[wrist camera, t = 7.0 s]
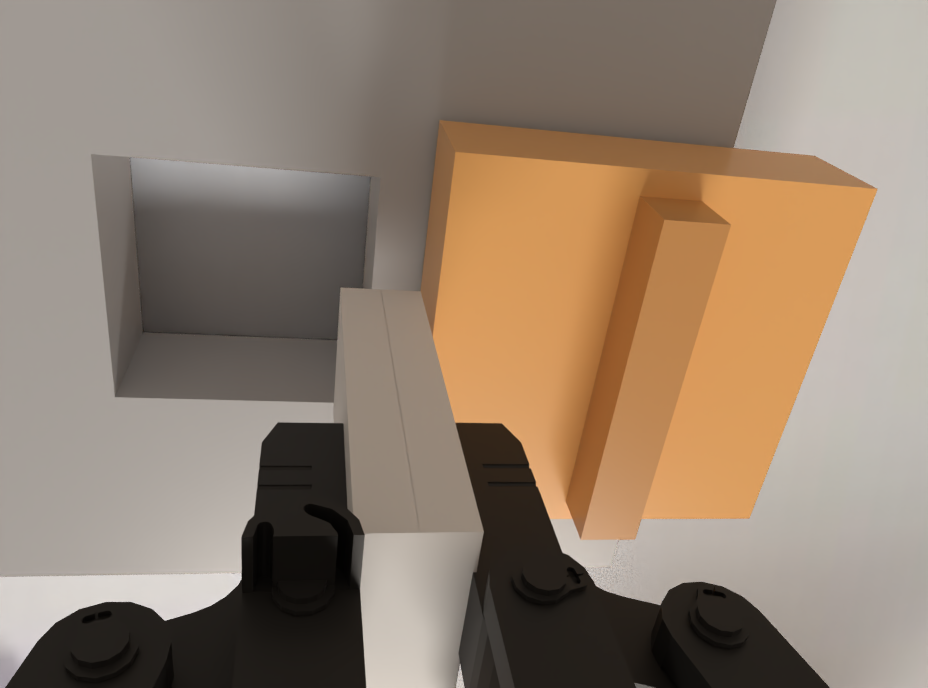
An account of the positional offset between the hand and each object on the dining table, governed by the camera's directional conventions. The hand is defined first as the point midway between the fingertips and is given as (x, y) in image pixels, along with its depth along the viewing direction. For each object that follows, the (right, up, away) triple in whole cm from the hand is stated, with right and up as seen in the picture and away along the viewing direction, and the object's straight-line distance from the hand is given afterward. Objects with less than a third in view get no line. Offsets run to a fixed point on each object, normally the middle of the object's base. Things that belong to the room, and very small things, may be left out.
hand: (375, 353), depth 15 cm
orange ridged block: (+5, +1, +3) cm, 5 cm away
